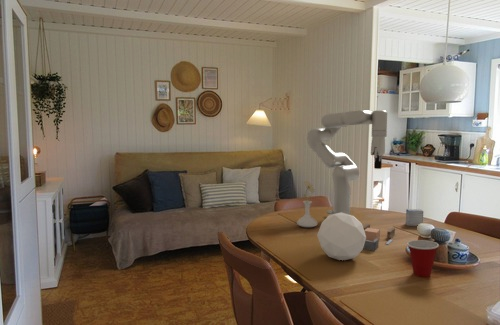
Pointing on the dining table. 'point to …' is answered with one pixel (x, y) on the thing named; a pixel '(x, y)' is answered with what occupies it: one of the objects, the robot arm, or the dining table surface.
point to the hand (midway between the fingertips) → (377, 168)
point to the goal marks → (389, 241)
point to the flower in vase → (307, 210)
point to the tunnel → (389, 233)
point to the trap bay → (371, 245)
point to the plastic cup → (422, 256)
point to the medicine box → (414, 217)
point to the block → (372, 234)
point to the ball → (341, 236)
